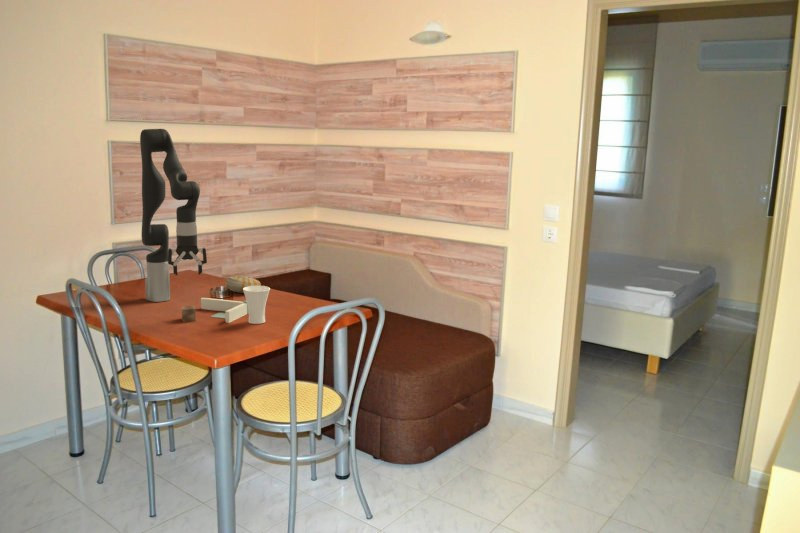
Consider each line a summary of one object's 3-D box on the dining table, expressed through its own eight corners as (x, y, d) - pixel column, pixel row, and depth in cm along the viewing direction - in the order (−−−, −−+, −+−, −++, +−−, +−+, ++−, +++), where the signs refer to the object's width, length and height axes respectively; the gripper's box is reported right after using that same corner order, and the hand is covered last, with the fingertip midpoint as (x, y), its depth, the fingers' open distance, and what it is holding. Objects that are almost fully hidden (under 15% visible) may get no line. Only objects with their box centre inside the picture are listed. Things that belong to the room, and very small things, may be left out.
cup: (257, 327, 254) (256, 292, 251) (237, 322, 259) (236, 288, 256) (276, 321, 262) (275, 288, 260) (256, 317, 268) (256, 284, 265)
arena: (180, 317, 264) (180, 304, 263) (203, 307, 279) (203, 295, 278) (229, 322, 258) (229, 310, 257) (249, 312, 273) (249, 300, 272)
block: (182, 322, 258) (181, 309, 257) (182, 318, 263) (181, 306, 262) (195, 321, 260) (195, 308, 259) (195, 317, 264) (194, 305, 263)
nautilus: (215, 289, 314) (243, 287, 324) (235, 296, 298) (265, 293, 308) (215, 273, 314) (244, 271, 323) (235, 278, 297) (265, 276, 307)
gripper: (167, 235, 249) (168, 277, 252) (206, 234, 254) (207, 275, 257) (167, 232, 256) (168, 273, 259) (205, 231, 260) (206, 272, 264)
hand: (188, 274), depth 258 cm, fingers open, 8 cm apart
